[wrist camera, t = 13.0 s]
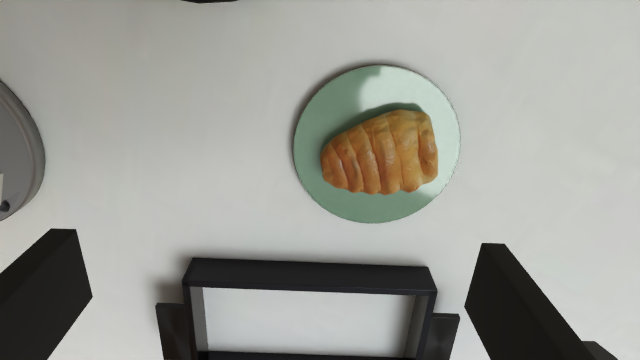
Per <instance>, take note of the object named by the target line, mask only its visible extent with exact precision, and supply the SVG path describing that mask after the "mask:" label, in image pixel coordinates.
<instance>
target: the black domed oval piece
mask: <svg viewBox="0 0 640 360" xmlns="http://www.w3.org/2000/svg"><path fill="white" fill-rule="evenodd" d="M182 1H188V2H194V3H215V2H232V1H237V0H182Z"/></svg>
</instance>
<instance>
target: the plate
mask: <svg viewBox="0 0 640 360" xmlns="http://www.w3.org/2000/svg"><path fill="white" fill-rule="evenodd" d="M400 109H402V110H409V111H420V112H424V113H426V114H427V115H429V117H430V118H431V123H432V127H433V132H434V135H435V144H436V146H437V149H438V175H437V177H436V178H435V179H434V180H433V181H432V182H430V183H426V184H423V185H421V186H420V187H419V188H418V189H417V190H416V191H414V192H411V193H407V192H405V191H403V190H399V191H397V192H396V193H394V194H389V195H382V194H380V193H377V194H373V195H370V194H366V193H364V192H358V193H352V192H350V191H348V190H345V189H339V188H335V187H333V186H332V185H331V184H329V183H327V182H326V181H324V179H323V176H322V168H321V165H320V154H321V152H322V150H323V149H324V147H325V146H326V145H327V144H328V143H329V142H330V141H331V140H332V139H333V138H334V137H335V136H337V135H339V134H341V133H343V132H345V131H347V130H349V129H351V128H352V127H354V126H356V125H358V124H360V123H362V122H364V121H366V120H369V119H371V118H374V117H377V116H379V115H381V114H383V113H387V112H391V111H394V110H400ZM293 151H294V162H295V167H296V170H297V173H298V176H299V179H300V181H301V183H302V185H303V186H304V188H305V189H306V191H307V192H308V194H309V195H310V196H311V197H312V198H313V199H314V200H315V201H316V202H317V203H318V204H319V205H320V206H321V207H323V208H324V209H326V210H327V211H329V212H330V213H332V214H334V215H336V216H338V217H341V218H344V219H346V220H350V221H354V222H360V223H384V222H390V221H394V220H398V219H401V218H404V217H406V216H409V215H411V214H413V213H415V212H417V211H418V210H420V209H421V208H423V207H425V206H426V205H427V204H428V203H430V202H431V201H432V200H433V199H434V198H435V197H436V196H437V195H438V194H439V193H440V192H441V191H442V189H443V188H444V187H445V186H446V184H447V183H448V181H449V179H450V177H451V176H452V174H453V171H454V169H455V167H456V164H457V160H458V157H459V151H460V128H459V123H458V120H457V116H456V113H455V111H454V109H453V107H452V105H451V103H450V102H449V100H448V99H447V97H446V96H445V95H444V93H443V92H442V91H441V90H440V89H439V88H438V87H437V86H436V85H434V84H433V83H432V82H431V81H430V80H428V79H427V78H425V77H423V76H422V75H420V74H418V73H416V72H413V71H411V70H409V69H405V68H401V67H397V66H389V65H372V66H366V67H360V68H357V69H354V70H350V71H348V72H346V73H343V74H341V75H339V76H338V77H336V78H334V79H333V80H331V81H329V82H328V83H327V84H326V85H324V86H323V87H322V88H321V89H320V90H319V91H318V92H317V93H316V94H315V95H314V96H313V97H312V98H311V100H310V101H309V103H308V104H307V105H306V107H305V109H304V111H303V112H302V114H301V116H300V119H299V122H298V124H297V128H296V132H295V136H294V146H293Z"/></svg>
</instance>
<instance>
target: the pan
mask: <svg viewBox="0 0 640 360" xmlns="http://www.w3.org/2000/svg"><path fill="white" fill-rule="evenodd" d="M202 287H210V288H236V289H262V290H288V291H314V292H340V293H366V294H392V295H416V297H415V302H414V307H413V312H412V317H411V322H410V327H409V332H408V338H407V343H406V348H405V353H404V358H389V357H360V356H331V355H302V354H273V353H244V352H215V351H208V342H207V332H206V321H205V310H204V300H203V289H202ZM182 288H183V297H184V304H181V303H157V305H156V306H155V308H156V314H157V320H158V327H159V333H160V339H161V345H162V351H163V357H164V360H449V359H450V355H451V351H452V347H453V344H454V340H455V336H456V332H457V328H458V325H459V321H460V316H459V314H450V313H433V309H434V305H435V300H436V296H437V291H438V290H437V288H436V285H435V283H434V281H433V278H432V276H431V273H430V271H429V268H428V267H412V266H387V265H362V264H337V263H312V262H288V261H263V260H238V259H213V258H192V260H191V262H190V264H189V266H188V268H187V270H186V272H185V275H184V277H183V279H182Z"/></svg>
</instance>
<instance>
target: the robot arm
mask: <svg viewBox="0 0 640 360" xmlns="http://www.w3.org/2000/svg"><path fill="white" fill-rule="evenodd" d="M44 170H45V157H44V150H43V145H42V141H41V138H40V135H39V133H38V130H37V128H36V126H35V124H34V122H33V120H32V118H31V117H30V115H29V113H28V112H27V110H26V109H25V108H24V106H23V105H22V104H21V102H20V101H19V100H18V99H17V97H16V96H15V95H14V94H13V93H12V92H11V91H10V90H9V89H8V88H7V87H6V86H5V85H4V84H3V83H2V82H1V81H0V221H2V220H4V219H6V218H7V217H9V216H11V215H12V214H14V213H15V212H16V211H18V210H19V209H21V208H22V207H24V206H25V205H26V204H27V203H29V202H30V201H31V200H32V198H33V197H34V196H35V195H36V193H37V191H38V190H39V188H40V186H41V183H42V180H43V176H44ZM92 297H93V296H92V292H91V288H90V284H89V280H88V276H87V272H86V268H85V264H84V260H83V256H82V252H81V248H80V244H79V240H78V235H77V231H76V229H50V230H49V231H48V232H47V233H45V234H44V235H43V236H42V237H41V238H40V239H39V240H38V241H36V242H35V243H34V244H33V245H32V246H31V247H30V248H29V249H27V250H26V251H25V252H24V253H23V254H22V255H21V256H20V257H18V258H17V259H16V260H15V261H14V262H13V263H12V264H11V265H9V266H8V267H7V268H6V269H5V270H4V271H3V272H2V273H0V360H47V359H48V358H49V356H50V355H51V354H52V352H53V351H54V349H55V348H56V347H57V345H58V344H59V343H60V341H61V340H62V339H63V337H64V336H65V334H66V333H67V332H68V330H69V329H70V328H71V326H72V325H73V323H74V322H75V321H76V319H77V318H78V317H79V315H80V314H81V312H82V311H83V310H84V308H85V307H86V306H87V304H88V303H89V301H90V300H91V299H92ZM464 307H465V309H466V311H467V313H468V315H469V317H470V319H471V321H472V323H473V325H474V327H475V329H476V331H477V333H478V335H479V337H480V339H481V341H482V343H483V345H484V347H485V349H486V351H487V353H488V355H489V357H490V359H491V360H618V359H617V358H616V357H614V356H613V355H612V354H611V353H609V352H608V351H607V350H605V349H604V348H603V347H602V346H600V345H599V344H598V343H596V342H595V341H581V340H580V338H579V337H578V336H577V335H576V333H575V332H574V331H573V330H572V328H571V327H570V326H569V325H568V323H567V322H566V321H565V319H564V318H563V317H562V316H561V314H560V313H559V312H558V311H557V309H556V308H555V307H554V306H553V304H552V303H551V302H550V301H549V299H548V298H547V297H546V296H545V294H544V293H543V292H542V290H541V289H540V288H539V287H538V285H537V284H536V283H535V282H534V280H533V279H532V278H531V277H530V275H529V274H528V273H527V272H526V270H525V269H524V268H523V266H522V265H521V264H520V263H519V261H518V260H517V259H516V258H515V256H514V255H513V254H512V253H511V251H510V250H509V249H508V248H507V246H506V245H505V244H497V243H482V244H481V248H480V252H479V255H478V259H477V263H476V266H475V270H474V273H473V277H472V281H471V284H470V288H469V291H468V295H467V299H466V302H465V306H464Z"/></svg>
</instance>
